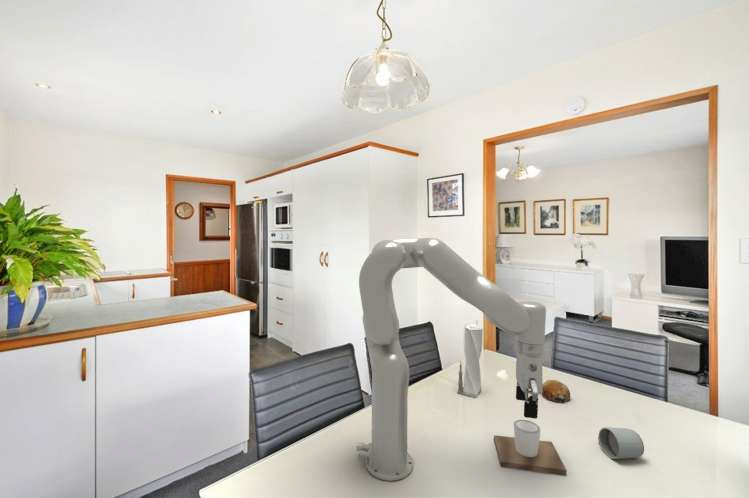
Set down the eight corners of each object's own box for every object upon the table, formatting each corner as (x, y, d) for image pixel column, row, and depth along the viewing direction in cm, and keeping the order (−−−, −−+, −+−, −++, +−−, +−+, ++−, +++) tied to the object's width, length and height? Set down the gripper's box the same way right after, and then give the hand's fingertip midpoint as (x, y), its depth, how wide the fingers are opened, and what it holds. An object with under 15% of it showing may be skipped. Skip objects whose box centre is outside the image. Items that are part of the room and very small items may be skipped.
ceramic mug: (646, 463, 91) (647, 435, 90) (619, 465, 90) (619, 437, 90) (614, 440, 101) (615, 415, 101) (589, 442, 100) (589, 416, 100)
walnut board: (500, 467, 89) (500, 461, 89) (493, 440, 101) (493, 435, 101) (566, 475, 86) (566, 469, 86) (551, 446, 98) (551, 441, 98)
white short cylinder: (543, 460, 90) (543, 434, 89) (515, 456, 91) (516, 431, 91) (536, 444, 96) (536, 420, 96) (510, 441, 98) (511, 417, 97)
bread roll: (570, 406, 128) (571, 384, 131) (569, 405, 120) (570, 382, 123) (541, 399, 134) (542, 378, 136) (538, 398, 126) (540, 375, 128)
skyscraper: (465, 385, 138) (466, 317, 137) (485, 390, 133) (486, 320, 132) (457, 393, 131) (458, 322, 130) (477, 399, 126) (478, 325, 125)
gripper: (553, 359, 83) (550, 427, 84) (535, 339, 100) (532, 395, 101) (521, 356, 84) (518, 423, 85) (508, 336, 101) (505, 392, 102)
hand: (525, 408), depth 93 cm, fingers open, 9 cm apart
